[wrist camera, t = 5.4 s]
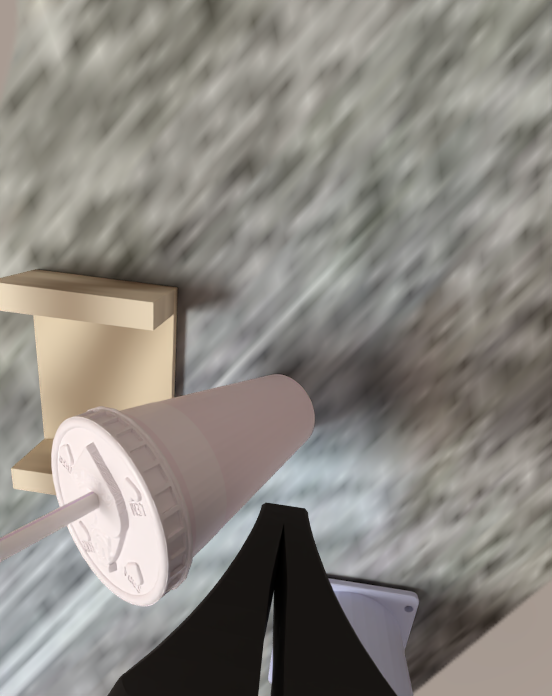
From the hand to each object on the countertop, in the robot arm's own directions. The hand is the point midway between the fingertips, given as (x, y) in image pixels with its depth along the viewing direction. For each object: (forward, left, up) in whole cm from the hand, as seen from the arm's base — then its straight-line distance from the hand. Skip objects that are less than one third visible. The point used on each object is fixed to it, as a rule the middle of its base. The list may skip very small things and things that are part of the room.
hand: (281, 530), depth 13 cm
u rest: (0, +10, -9) cm, 13 cm away
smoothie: (0, 0, -8) cm, 8 cm away
